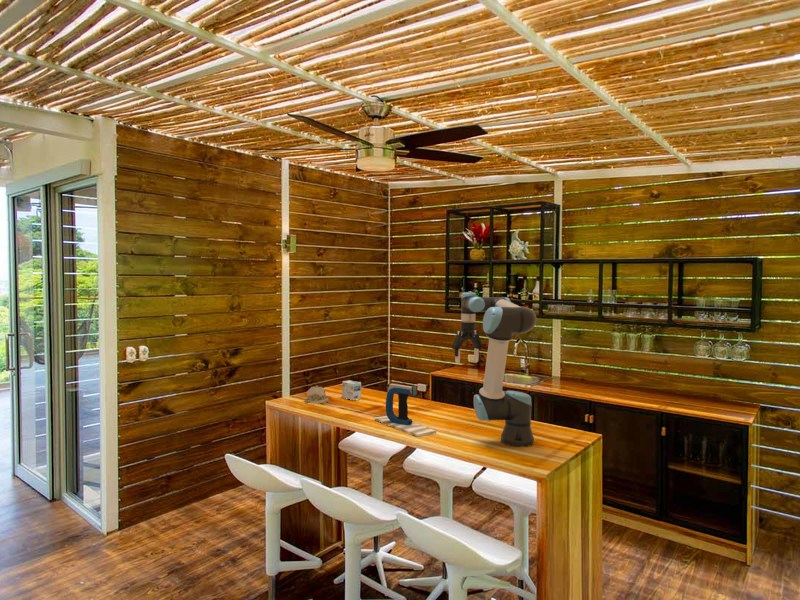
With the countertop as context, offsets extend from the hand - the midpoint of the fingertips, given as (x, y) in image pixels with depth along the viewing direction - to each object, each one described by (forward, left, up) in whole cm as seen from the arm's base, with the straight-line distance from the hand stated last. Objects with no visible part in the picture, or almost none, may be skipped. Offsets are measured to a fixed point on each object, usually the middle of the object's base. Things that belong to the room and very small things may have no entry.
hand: (466, 361), depth 283 cm
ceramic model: (+80, +46, -32) cm, 98 cm away
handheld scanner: (+12, +34, -31) cm, 47 cm away
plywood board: (+9, +34, -32) cm, 47 cm away
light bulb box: (+76, +24, -32) cm, 86 cm away
